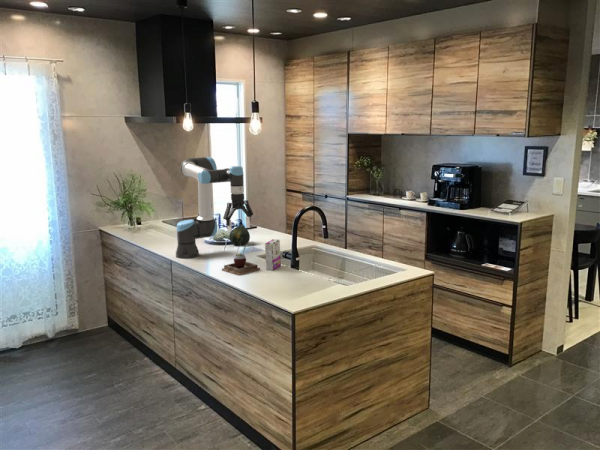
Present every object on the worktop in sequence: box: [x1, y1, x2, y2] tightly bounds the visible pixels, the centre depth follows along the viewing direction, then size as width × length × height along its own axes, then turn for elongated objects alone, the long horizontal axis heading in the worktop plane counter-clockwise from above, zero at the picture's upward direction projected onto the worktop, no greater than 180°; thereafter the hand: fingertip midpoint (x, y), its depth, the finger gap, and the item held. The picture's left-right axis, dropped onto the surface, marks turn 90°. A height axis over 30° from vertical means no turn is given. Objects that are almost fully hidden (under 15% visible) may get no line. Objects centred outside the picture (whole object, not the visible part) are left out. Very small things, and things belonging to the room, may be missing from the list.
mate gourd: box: [233, 243, 249, 269], centre depth 305 cm, size 8×8×15 cm
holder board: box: [221, 261, 261, 276], centre depth 306 cm, size 16×16×3 cm
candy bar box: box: [264, 238, 282, 271], centre depth 308 cm, size 11×5×16 cm, turn 158°
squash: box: [228, 224, 251, 246], centre depth 373 cm, size 14×15×15 cm
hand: (239, 229), depth 302 cm, fingers open, 13 cm apart
